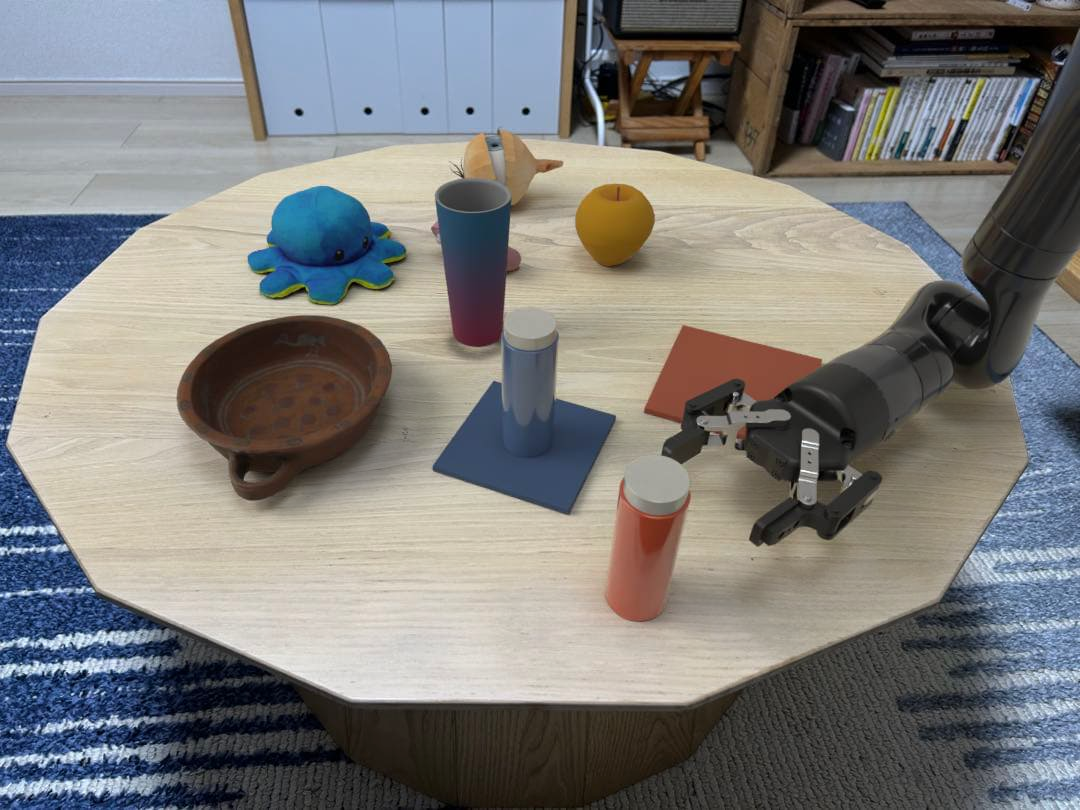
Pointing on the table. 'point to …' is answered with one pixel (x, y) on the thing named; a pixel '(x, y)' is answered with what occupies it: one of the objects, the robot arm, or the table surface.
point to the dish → (284, 395)
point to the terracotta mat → (722, 370)
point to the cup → (475, 255)
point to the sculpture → (503, 162)
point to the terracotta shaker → (646, 536)
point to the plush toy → (324, 247)
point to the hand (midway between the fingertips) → (707, 496)
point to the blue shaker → (529, 381)
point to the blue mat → (530, 479)
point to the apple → (614, 222)
